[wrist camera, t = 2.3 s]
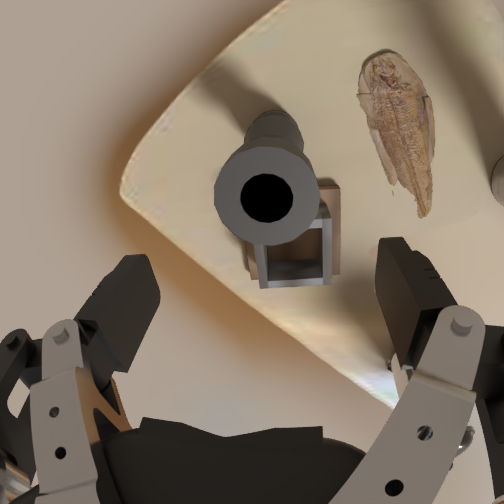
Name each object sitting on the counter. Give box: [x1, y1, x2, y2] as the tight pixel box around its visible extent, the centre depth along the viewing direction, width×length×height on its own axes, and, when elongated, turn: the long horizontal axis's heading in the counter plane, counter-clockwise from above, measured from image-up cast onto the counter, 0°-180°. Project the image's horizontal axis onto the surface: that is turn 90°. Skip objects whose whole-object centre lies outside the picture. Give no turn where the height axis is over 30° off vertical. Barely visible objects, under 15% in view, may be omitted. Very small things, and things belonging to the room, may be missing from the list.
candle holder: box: [214, 110, 321, 246], centre depth 26 cm, size 6×6×25 cm
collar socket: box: [245, 185, 341, 289], centre depth 41 cm, size 14×14×6 cm
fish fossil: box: [357, 52, 435, 218], centre depth 35 cm, size 26×10×1 cm, turn 26°
